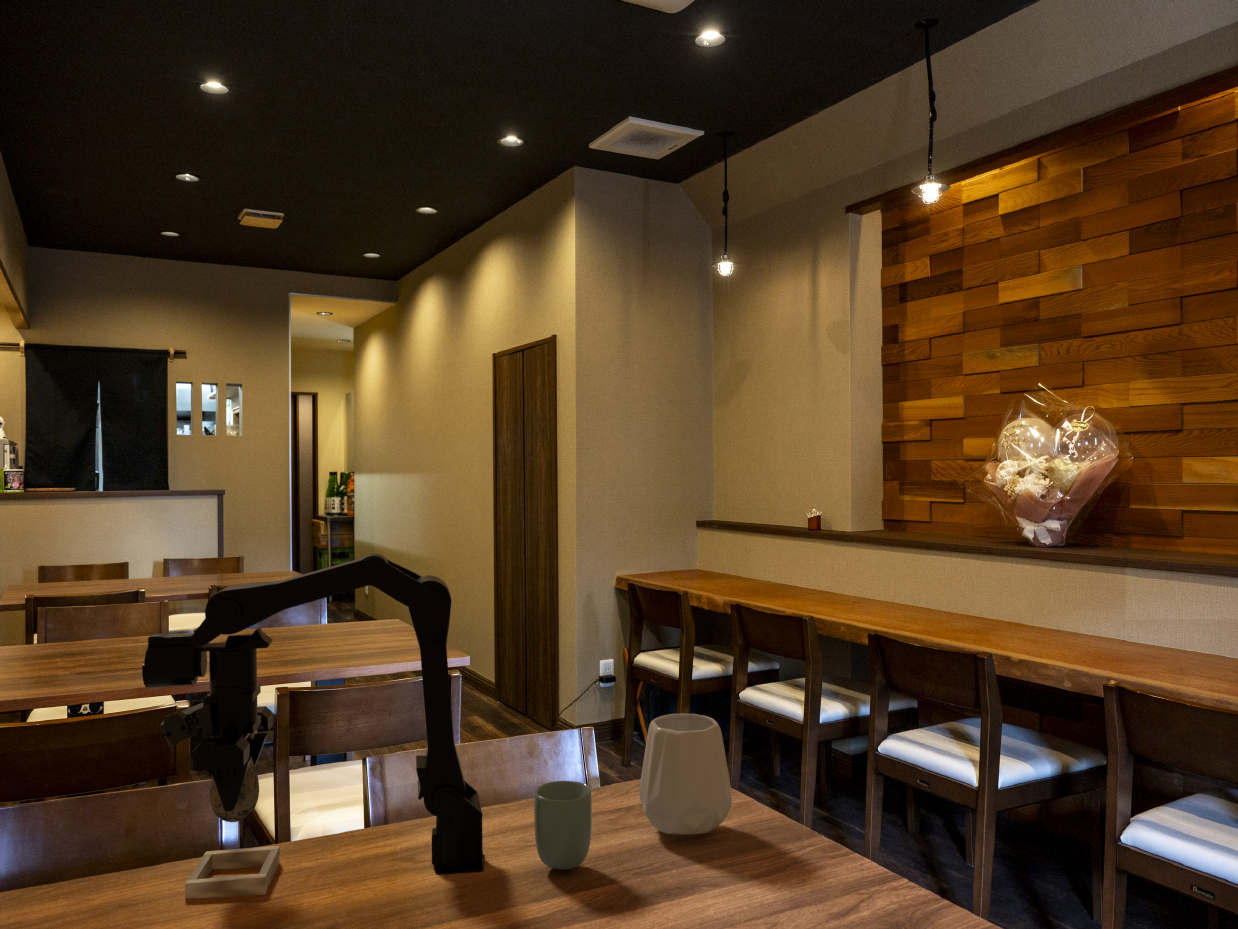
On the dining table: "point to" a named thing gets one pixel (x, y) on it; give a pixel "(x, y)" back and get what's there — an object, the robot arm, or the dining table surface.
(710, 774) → the vase
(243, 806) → the decorative egg
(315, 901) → the dining table surface
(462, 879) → the dining table surface
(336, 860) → the dining table surface
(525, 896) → the dining table surface
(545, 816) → the cup
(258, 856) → the egg stand
